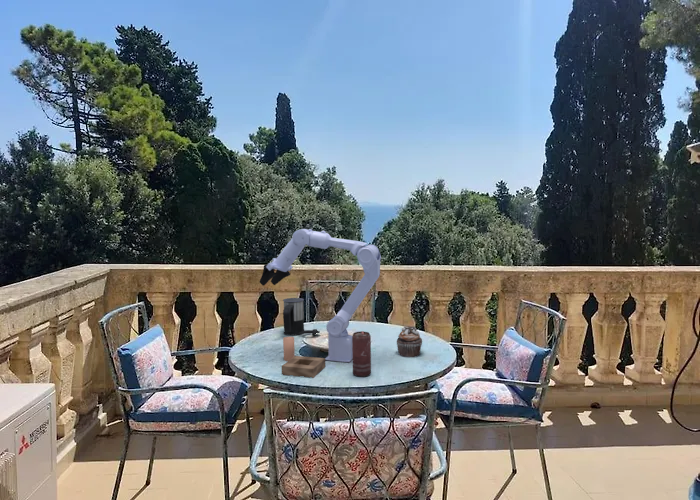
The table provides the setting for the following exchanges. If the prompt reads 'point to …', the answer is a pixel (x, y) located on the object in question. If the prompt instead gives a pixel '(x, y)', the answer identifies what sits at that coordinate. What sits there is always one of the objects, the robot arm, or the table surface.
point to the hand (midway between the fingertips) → (267, 283)
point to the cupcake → (409, 342)
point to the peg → (288, 348)
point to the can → (361, 354)
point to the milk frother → (294, 317)
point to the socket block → (303, 366)
